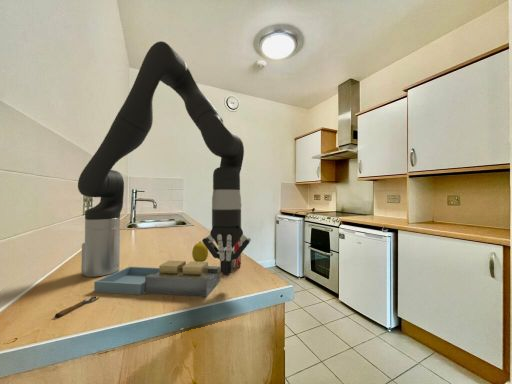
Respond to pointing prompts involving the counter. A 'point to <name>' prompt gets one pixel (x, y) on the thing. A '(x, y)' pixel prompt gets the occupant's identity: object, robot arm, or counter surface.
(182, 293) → the slot plate
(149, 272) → the tray
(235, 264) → the beverage can
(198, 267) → the yellow block
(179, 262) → the tan cube
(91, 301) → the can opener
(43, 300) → the counter surface
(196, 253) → the lemon
